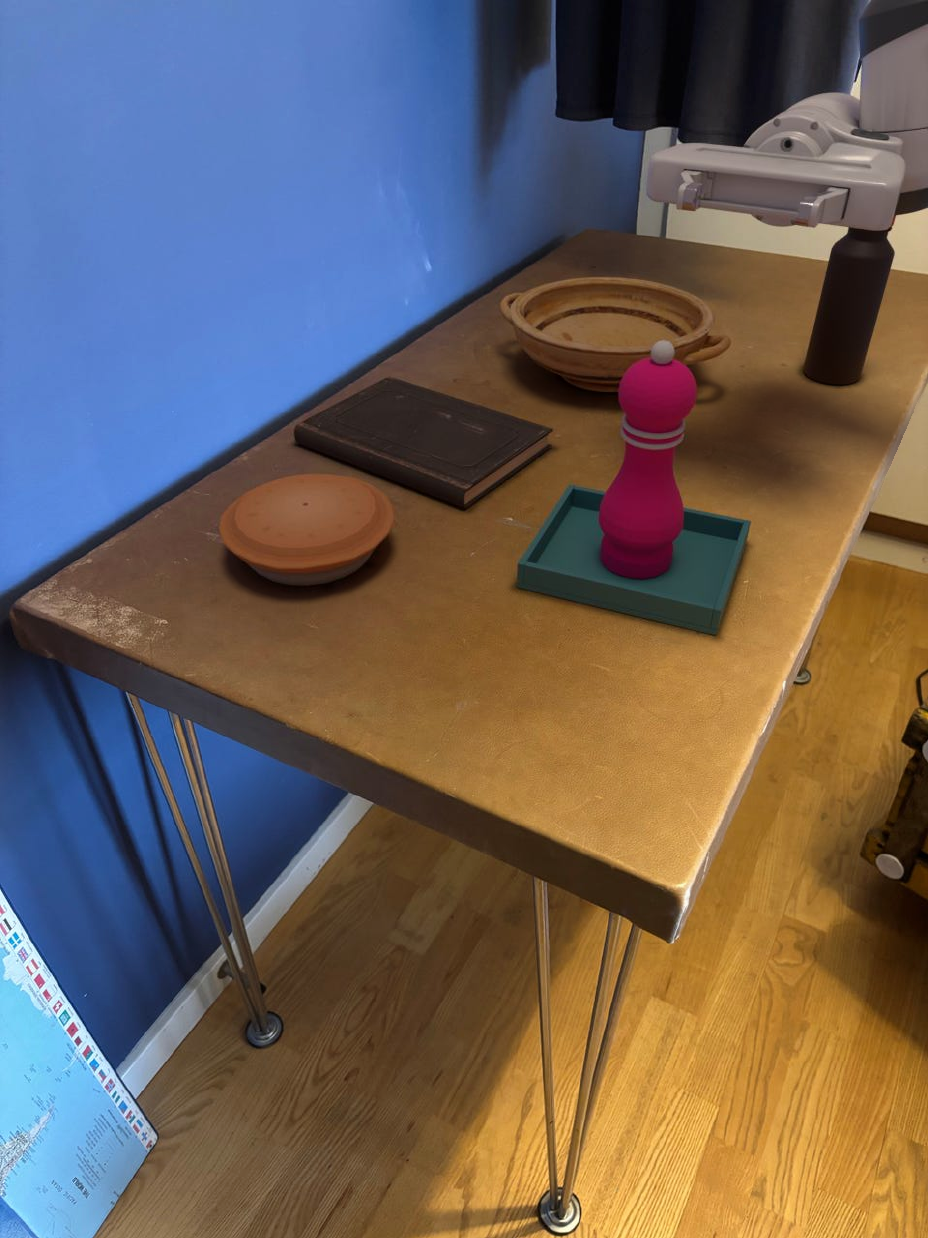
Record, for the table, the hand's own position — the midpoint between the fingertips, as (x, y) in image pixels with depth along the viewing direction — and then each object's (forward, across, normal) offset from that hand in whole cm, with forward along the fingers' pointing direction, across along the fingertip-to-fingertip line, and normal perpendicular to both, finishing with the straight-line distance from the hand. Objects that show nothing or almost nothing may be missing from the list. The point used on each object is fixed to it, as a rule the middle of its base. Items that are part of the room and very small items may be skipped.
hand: (744, 207), depth 70 cm
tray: (+10, -2, +28) cm, 30 cm away
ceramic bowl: (-27, -20, +28) cm, 44 cm away
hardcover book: (+1, -30, +28) cm, 41 cm away
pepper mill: (+10, -2, +28) cm, 30 cm away
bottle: (-40, +4, +28) cm, 49 cm away
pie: (+23, -28, +28) cm, 46 cm away
